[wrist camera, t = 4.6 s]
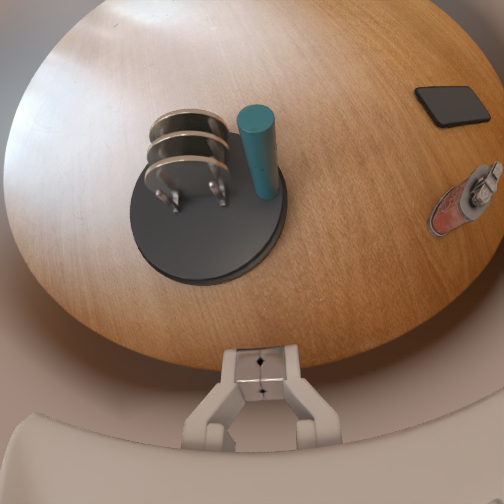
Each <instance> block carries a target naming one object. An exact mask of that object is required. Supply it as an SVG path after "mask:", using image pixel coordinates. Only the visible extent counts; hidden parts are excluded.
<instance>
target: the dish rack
mask: <svg viewBox="0 0 504 504" xmlns="http://www.w3.org/2000/svg"><path fill="white" fill-rule="evenodd" d="M237 125H238V128H239V132H240V135H238V134H236V133H231V132H229V128H228V125H227V124H226V122H225V121H224V120H223V119H222V118H221V117H219V116H218V115H216V114H214V113H211V112H208V111H205V110H199V109H181V110H176V111H172V112H169V113H167V114H165V115H163V116H161V117H160V118H158V119H157V120H156V121H155V122H154V123H153V124H152V126H151V128H150V133H149V139H150V142H151V143H152V144H151V145H150V146H149V148H148V151H147V161H148V164H147V165H146V167H145V168H144V170H143V171H142V173H141V174H140V176H139V178H138V180H137V182H136V185H135V188H134V190H133V194H132V198H131V205H130V222H131V228H132V232H133V235H134V238H135V240H136V243H137V245H138V246H139V248H140V250H141V251H142V253H143V254H144V255H145V256H146V258H147V259H148V260H149V261H150V262H151V263H152V264H154V265H155V266H156V267H158V268H159V269H161V270H162V271H164V272H166V273H168V274H171V275H173V276H177V277H180V278H184V279H190V280H210V279H216V278H220V277H223V276H227V275H229V274H231V273H234V272H236V271H238V270H239V269H241V268H243V267H244V266H246V265H247V264H249V263H250V262H251V261H252V260H254V259H255V258H256V257H257V256H258V255H259V254H260V253H261V252H262V251H263V250H264V248H265V247H266V246H267V244H268V243H269V242H270V240H271V238H272V236H273V235H274V233H275V231H276V228H277V226H278V223H279V220H280V216H281V212H282V202H283V198H282V185H281V180H280V177H279V174H278V161H277V146H276V131H275V118H274V114H273V112H272V111H271V109H269V108H268V107H266V106H264V105H257V104H256V105H250V106H247V107H245V108H243V109H242V110H241V111H240V112H239V114H238V116H237Z"/></svg>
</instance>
